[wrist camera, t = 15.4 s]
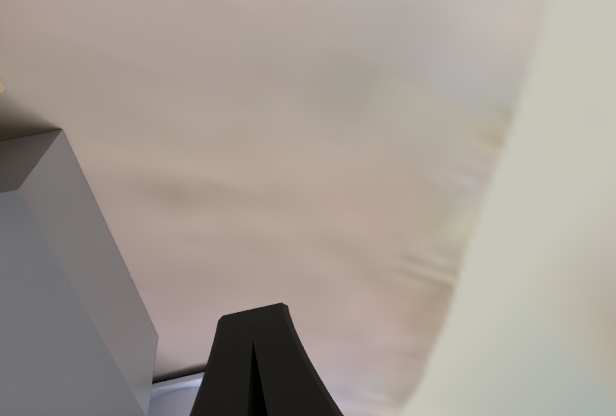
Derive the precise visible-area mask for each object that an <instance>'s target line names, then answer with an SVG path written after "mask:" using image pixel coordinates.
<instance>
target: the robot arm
mask: <svg viewBox="0 0 616 416" xmlns="http://www.w3.org/2000/svg"><path fill="white" fill-rule="evenodd" d="M147 416H344V415H343V414H342V413H341V411H340V410H339V408H338V406H337V405H336V403H335V402H334V400H333V399H332V397H331V395H330V394H329V392H328V390H327V389H326V387H325V385H324V384H323V382H322V380H321V379H320V377H319V375H318V373H317V372H316V370H315V368H314V367H313V365H312V363H311V361H310V359H309V357H308V356H307V354H306V352H305V349H304V347H303V345H302V343H301V341H300V339H299V337H298V335H297V332H296V330H295V328H294V325H293V322H292V319H291V316H290V313H289V309H288V306H287V305H285V304H283V303H278V304H273V305H269V306H264V307H260V308H255V309H251V310H246V311H242V312H237V313H233V314H228V315H224V316H222V317H221V318H220V319H219V321H218V324H217V329H216V333H215V337H214V341H213V345H212V349H211V352H210V356H209V359H208V363H207V366H206V369H205V372H203V373H199V374H194V375H190V376H185V377H181V378H177V379H172V380H168V381H164V382H159V383H155V384H152V386H151V394H150V401H149V408H148V415H147Z"/></svg>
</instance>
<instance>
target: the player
mask: <svg viewBox="0 0 616 416" xmlns="http://www.w3.org/2000/svg"><path fill="white" fill-rule="evenodd" d="M157 343H158V335H157V332H156V330H155V328H154V326H153V324H152V322H151V319H150V317H149V315H148V313H147V311H146V309H145V306H144V304H143V302H142V300H141V298H140V296H139V293H138V291H137V289H136V287H135V285H134V283H133V280H132V278H131V276H130V274H129V272H128V270H127V267H126V265H125V263H124V261H123V259H122V257H121V254H120V252H119V250H118V248H117V246H116V244H115V241H114V239H113V237H112V235H111V233H110V231H109V228H108V226H107V224H106V222H105V220H104V218H103V215H102V213H101V211H100V209H99V207H98V205H97V202H96V200H95V198H94V196H93V194H92V192H91V189H90V187H89V185H88V183H87V181H86V179H85V176H84V174H83V172H82V170H81V168H80V166H79V164H78V161H77V159H76V157H75V155H74V153H73V151H72V148H71V146H70V144H69V142H68V140H67V138H66V135H65V133H64V131H63V129H62V130H57V131H52V132H46V133H41V134H36V135H30V136H25V137H20V138H14V139H9V140H4V141H0V416H147V415H148V408H149V401H150V394H151V386H152V379H153V372H154V365H155V357H156V350H157Z"/></svg>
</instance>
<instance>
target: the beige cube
mask: <svg viewBox="0 0 616 416" xmlns="http://www.w3.org/2000/svg"><path fill="white" fill-rule="evenodd" d="M4 90H5V89H4V87H3V85H2V83H1V81H0V93H1V92H2V91H4Z"/></svg>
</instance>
